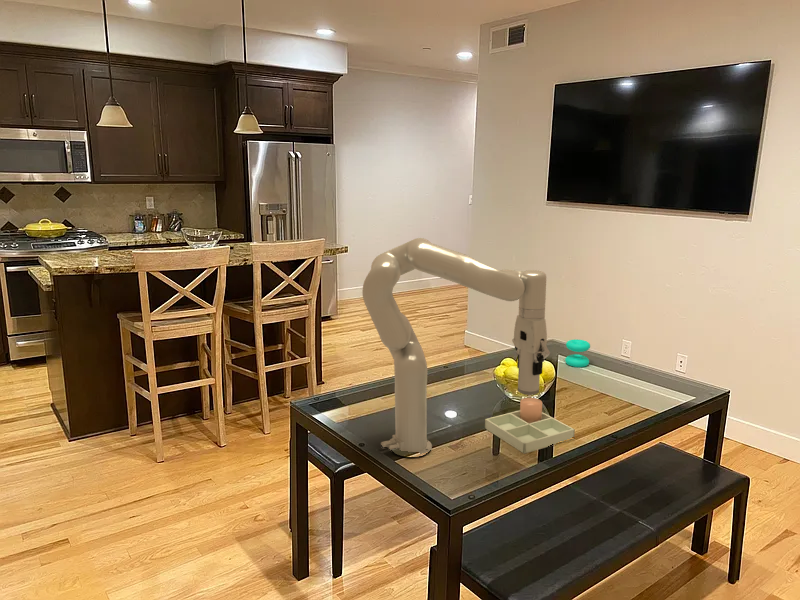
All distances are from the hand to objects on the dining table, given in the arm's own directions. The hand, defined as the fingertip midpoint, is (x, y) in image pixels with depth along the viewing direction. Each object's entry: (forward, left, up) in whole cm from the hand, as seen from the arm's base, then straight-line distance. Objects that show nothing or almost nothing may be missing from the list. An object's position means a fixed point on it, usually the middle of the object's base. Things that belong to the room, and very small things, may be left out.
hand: (529, 370), depth 177 cm
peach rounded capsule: (+10, +10, -24) cm, 27 cm away
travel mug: (0, 0, -7) cm, 7 cm away
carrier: (+5, +5, -24) cm, 25 cm away
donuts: (+68, +48, -25) cm, 87 cm away
